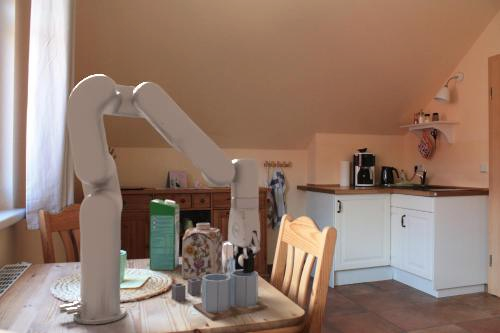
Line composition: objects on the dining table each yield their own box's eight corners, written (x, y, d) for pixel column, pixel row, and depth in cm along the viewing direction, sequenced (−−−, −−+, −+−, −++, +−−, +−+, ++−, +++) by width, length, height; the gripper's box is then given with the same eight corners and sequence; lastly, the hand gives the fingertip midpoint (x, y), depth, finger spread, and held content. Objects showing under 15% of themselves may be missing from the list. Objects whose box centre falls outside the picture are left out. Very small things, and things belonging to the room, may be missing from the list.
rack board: (211, 320, 104) (211, 315, 104) (193, 307, 113) (193, 303, 113) (267, 308, 113) (267, 304, 113) (245, 297, 122) (246, 293, 122)
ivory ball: (242, 269, 113) (242, 255, 113) (235, 266, 116) (235, 253, 116) (253, 267, 115) (254, 254, 115) (246, 264, 118) (247, 251, 118)
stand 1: (175, 301, 118) (175, 287, 118) (171, 298, 121) (171, 284, 121) (185, 299, 120) (185, 285, 120) (181, 296, 122) (181, 282, 122)
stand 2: (191, 295, 123) (191, 281, 123) (187, 292, 126) (187, 279, 126) (200, 293, 125) (201, 280, 125) (196, 291, 127) (196, 278, 127)
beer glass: (241, 296, 122) (241, 245, 122) (218, 295, 124) (218, 244, 124) (246, 290, 129) (246, 241, 129) (224, 288, 131) (224, 240, 131)
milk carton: (174, 269, 153) (175, 200, 152) (149, 269, 153) (150, 200, 153) (178, 264, 162) (179, 198, 161) (155, 263, 162) (156, 198, 162)
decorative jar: (215, 281, 139) (215, 226, 139) (181, 279, 141) (181, 225, 141) (223, 272, 151) (223, 221, 150) (191, 270, 152) (192, 220, 152)
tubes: (210, 314, 106) (210, 282, 106) (198, 306, 112) (198, 275, 112) (262, 304, 114) (262, 274, 114) (247, 296, 120) (248, 268, 120)
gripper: (218, 201, 120) (218, 266, 120) (249, 207, 106) (248, 280, 106) (241, 200, 124) (240, 263, 124) (273, 205, 110) (273, 276, 110)
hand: (244, 270), depth 115 cm, fingers closed on ivory ball, 3 cm apart
